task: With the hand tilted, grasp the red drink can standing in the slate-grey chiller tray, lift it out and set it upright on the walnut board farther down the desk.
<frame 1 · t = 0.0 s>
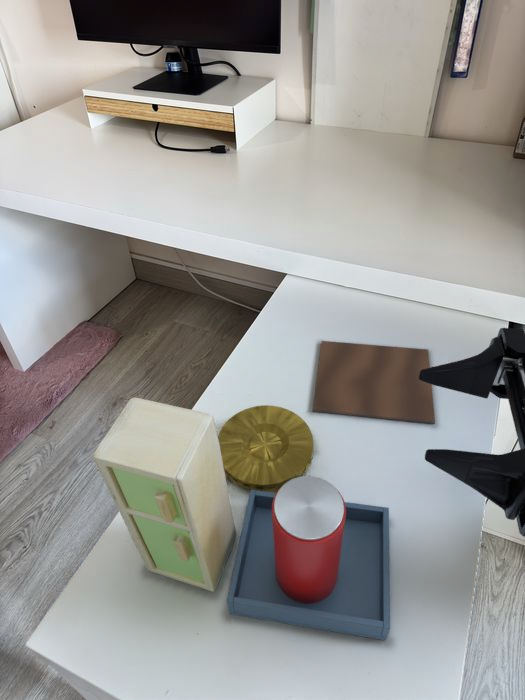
hand: (422, 411, 45), 18 cm above the table, tool horizontal, fingers open, 9 cm apart
can: (306, 571, 52), point 1 cm above the table, touching chiller tray
walnut board: (373, 380, 72), on the table
chiller tray: (312, 565, 53), on the table
toy refrigerator: (191, 557, 55), on the table
gold round disc: (265, 453, 64), on the table
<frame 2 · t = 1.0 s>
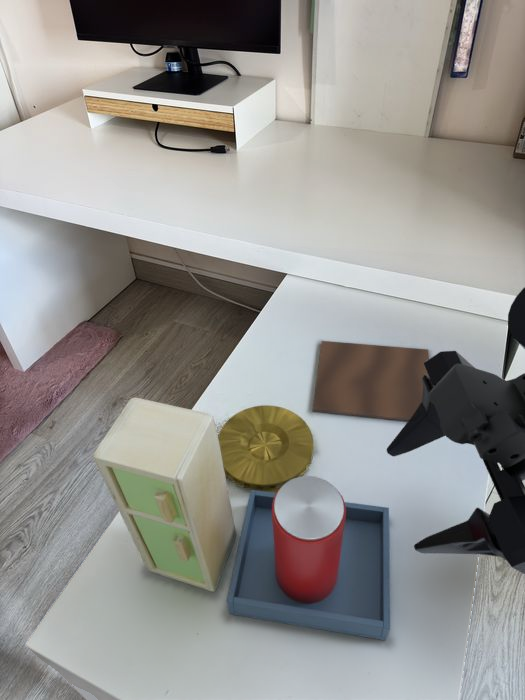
hand: (402, 497, 43), 14 cm above the table, tool tilted 45°, fingers open, 9 cm apart
nothing on the table moved.
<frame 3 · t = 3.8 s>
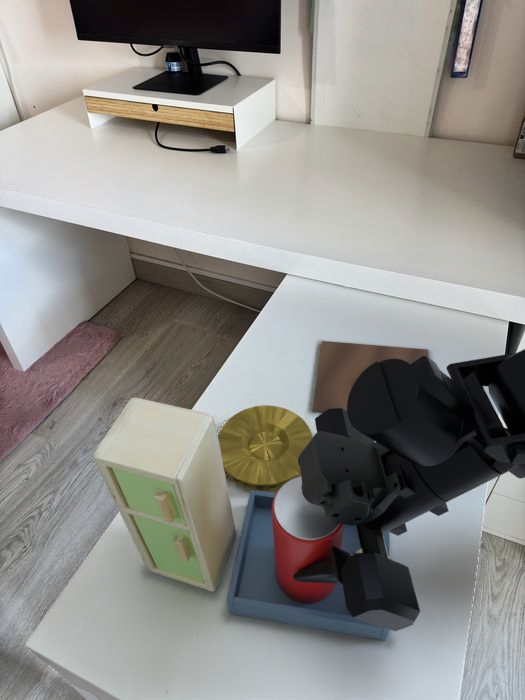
hand: (292, 542, 48), 7 cm above the table, tool tilted 45°, fingers closed on can, 6 cm apart
can: (306, 571, 52), point 1 cm above the table, touching chiller tray, gripper
everything else where it was.
when the fingers open (7 cm above the table, at t = 12.1 s): can stays where it is, resting on walnut board.
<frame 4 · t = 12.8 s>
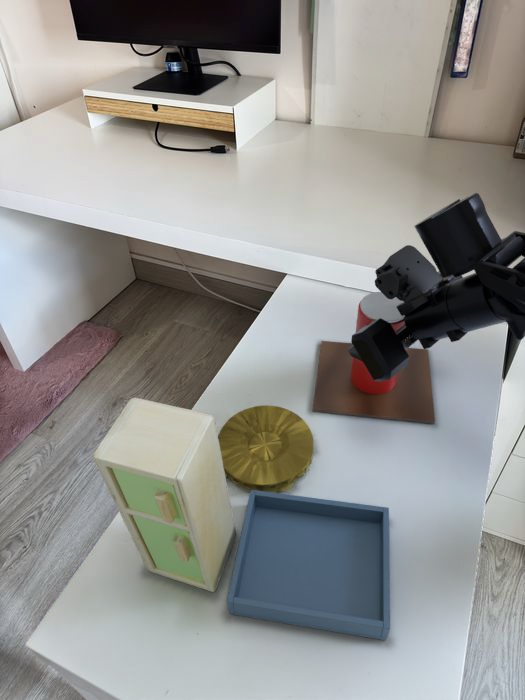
hand: (372, 335, 68), 8 cm above the table, tool tilted 45°, fingers open, 9 cm apart
can: (373, 377, 72), resting on walnut board
everything else where it was.
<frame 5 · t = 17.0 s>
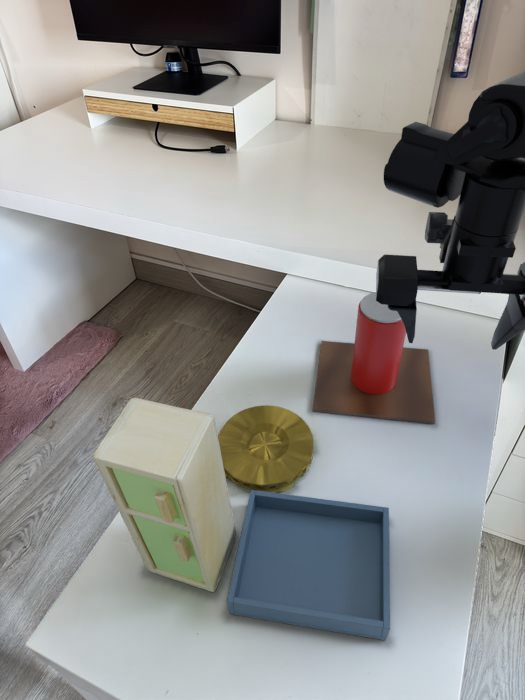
hand: (451, 343, 58), 13 cm above the table, tool pointing down, fingers open, 9 cm apart
nothing on the table moved.
at the end: can inside the target area on the walnut board (0.1 cm from its centre), point 0.5 cm above the walnut board's base; can tilted 0°; the gripper is holding nothing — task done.
